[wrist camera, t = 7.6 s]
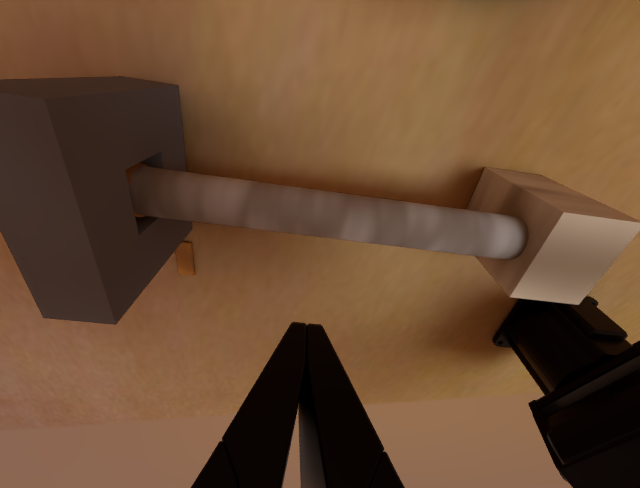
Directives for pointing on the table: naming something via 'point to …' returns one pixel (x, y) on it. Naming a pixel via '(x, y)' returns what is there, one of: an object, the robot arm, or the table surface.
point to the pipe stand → (416, 223)
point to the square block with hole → (86, 189)
